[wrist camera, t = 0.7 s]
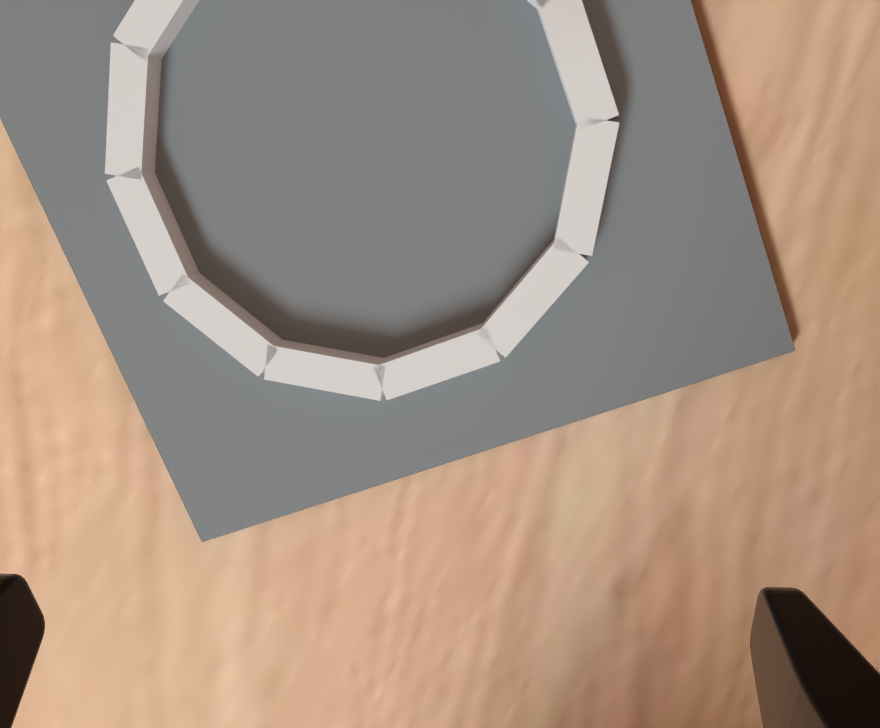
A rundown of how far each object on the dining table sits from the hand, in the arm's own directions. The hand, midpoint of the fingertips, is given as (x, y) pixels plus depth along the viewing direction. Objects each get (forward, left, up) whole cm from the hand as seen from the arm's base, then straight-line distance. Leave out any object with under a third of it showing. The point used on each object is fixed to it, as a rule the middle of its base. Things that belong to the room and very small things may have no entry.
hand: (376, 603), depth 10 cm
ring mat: (+6, +1, -14) cm, 15 cm away
